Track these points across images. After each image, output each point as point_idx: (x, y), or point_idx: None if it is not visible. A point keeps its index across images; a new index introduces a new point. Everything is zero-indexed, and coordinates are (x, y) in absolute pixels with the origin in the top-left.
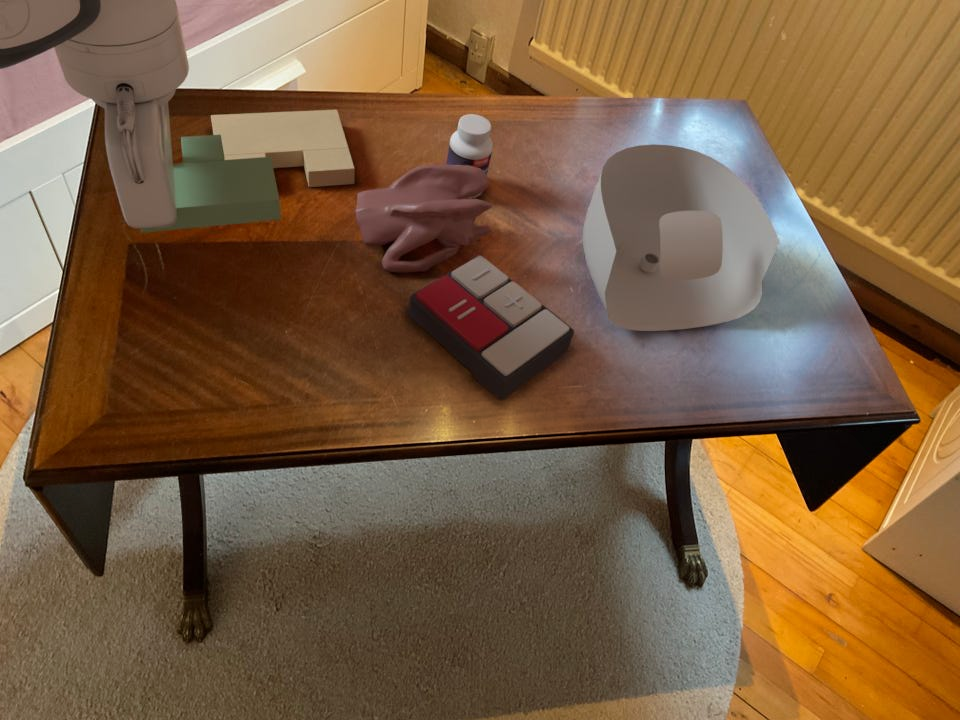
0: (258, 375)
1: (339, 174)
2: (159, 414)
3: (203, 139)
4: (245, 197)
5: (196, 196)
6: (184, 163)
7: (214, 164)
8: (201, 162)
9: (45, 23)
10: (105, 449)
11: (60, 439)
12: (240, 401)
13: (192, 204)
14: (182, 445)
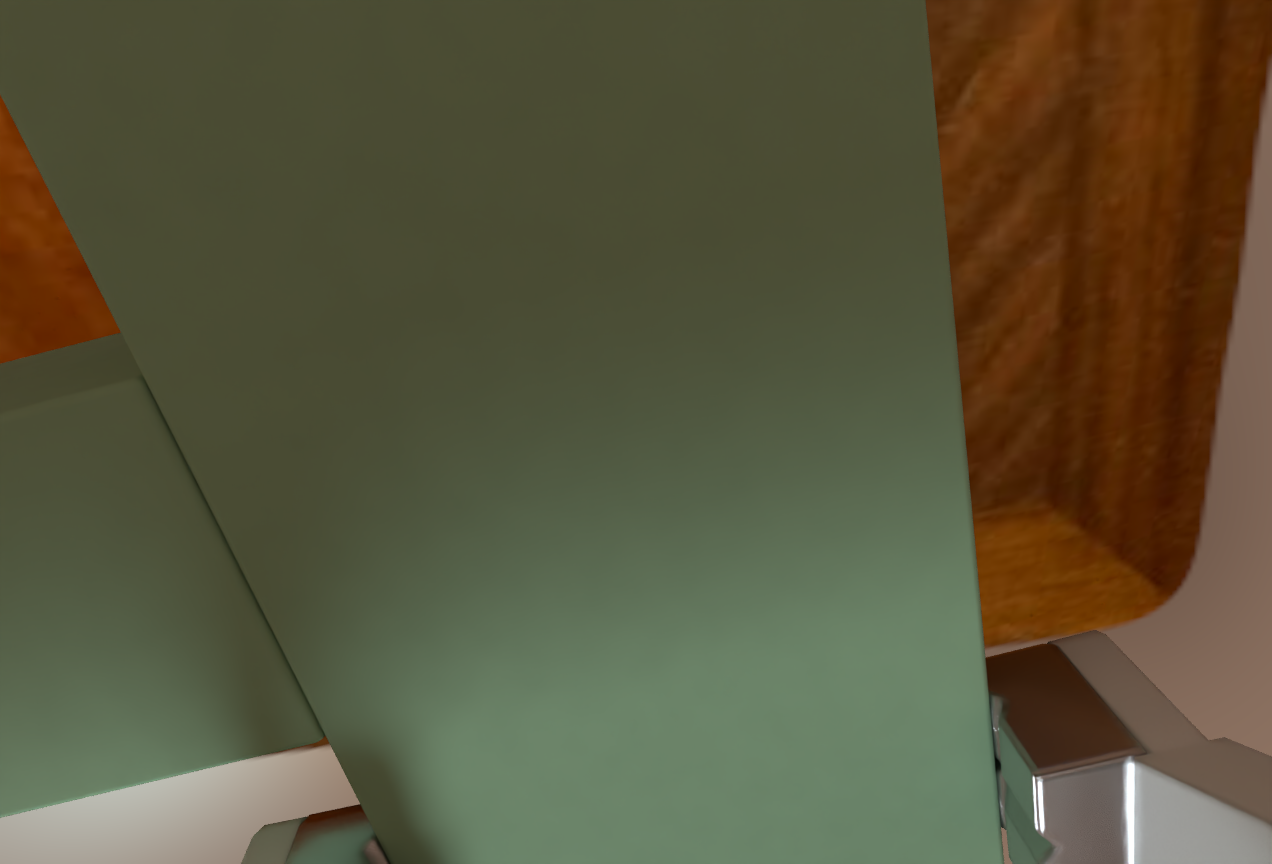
0: (940, 36)
1: None
2: (1070, 357)
3: None
4: None
5: (822, 540)
6: (333, 730)
7: (268, 467)
8: (269, 595)
9: None
10: (1168, 474)
11: (1114, 586)
12: (1053, 92)
13: (949, 553)
14: (1199, 263)
